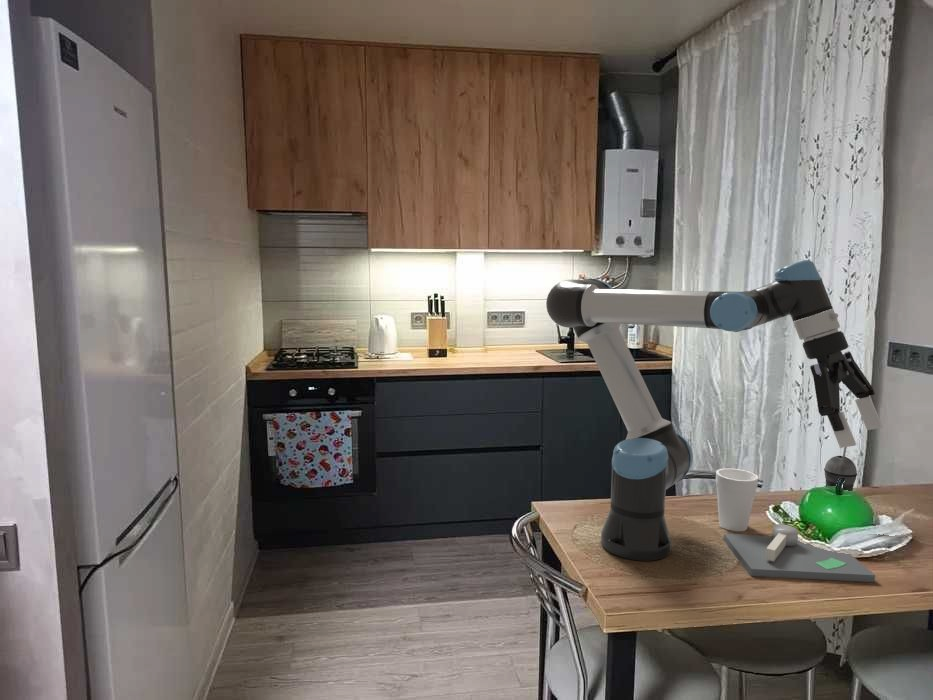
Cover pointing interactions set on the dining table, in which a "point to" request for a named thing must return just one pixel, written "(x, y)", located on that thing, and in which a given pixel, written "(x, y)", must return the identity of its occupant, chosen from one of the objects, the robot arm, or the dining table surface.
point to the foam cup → (735, 497)
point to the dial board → (796, 560)
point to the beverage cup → (840, 471)
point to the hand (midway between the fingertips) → (862, 437)
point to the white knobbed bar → (781, 540)
